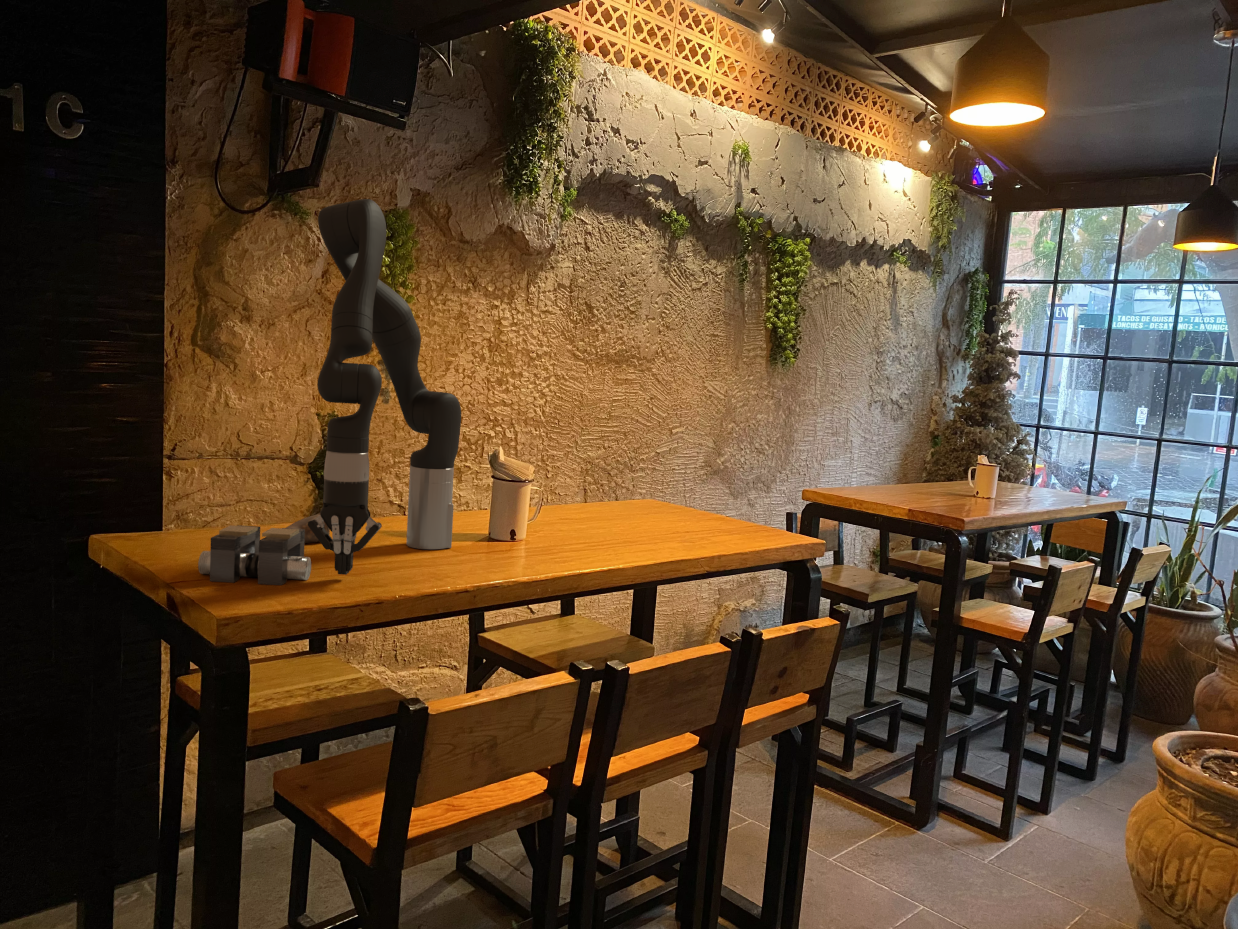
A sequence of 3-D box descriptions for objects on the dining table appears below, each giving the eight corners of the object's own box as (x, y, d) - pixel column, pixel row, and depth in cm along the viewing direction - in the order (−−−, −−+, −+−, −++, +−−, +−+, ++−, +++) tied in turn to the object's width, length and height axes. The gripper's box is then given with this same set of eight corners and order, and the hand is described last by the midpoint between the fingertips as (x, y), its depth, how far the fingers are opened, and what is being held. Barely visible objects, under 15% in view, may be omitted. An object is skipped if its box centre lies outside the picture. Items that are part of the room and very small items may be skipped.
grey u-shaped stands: (303, 569, 161) (305, 526, 160) (281, 585, 149) (283, 538, 149) (237, 565, 161) (238, 522, 160) (209, 581, 149) (210, 534, 148)
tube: (312, 567, 157) (309, 552, 154) (306, 584, 154) (302, 569, 151) (209, 561, 156) (204, 546, 153) (201, 578, 153) (196, 563, 150)
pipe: (272, 531, 171) (326, 524, 173) (278, 516, 186) (327, 509, 189) (277, 563, 172) (330, 555, 174) (282, 545, 187) (331, 538, 190)
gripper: (389, 476, 158) (385, 571, 160) (315, 472, 158) (312, 566, 159) (379, 482, 151) (375, 580, 152) (301, 477, 150) (298, 576, 152)
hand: (343, 573), depth 156 cm, fingers closed
